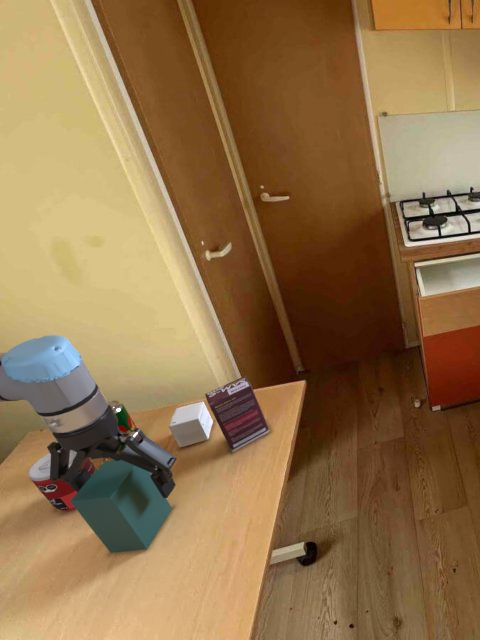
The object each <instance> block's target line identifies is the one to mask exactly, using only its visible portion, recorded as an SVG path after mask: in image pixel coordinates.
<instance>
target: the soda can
mask: <svg viewBox="0 0 480 640" xmlns="http://www.w3.org/2000/svg"><path fill="white" fill-rule="evenodd" d="M108 405H110V406H111V408H112V410H113V411H114V413H115V414H116V416H117V418H118V429H119V430H120V431H121V432H123V433H124V434H126V433H131V432H132V431H133V430H134V429H135V428H138V427H137V425H136V423H135V421H134V420H133V418H132V417H131V416H130V414H129V412H128V410H127V408H126V407H125V405H124V403H122V402H120V401H119V400H109V401H108ZM124 448H125V446H124V445H123V444H122V445H121V447H120V449H119V450H118V451H117V452H121V451H122V450H123V449H124Z"/></svg>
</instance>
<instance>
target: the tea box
mask: <svg viewBox="0 0 480 640" xmlns="http://www.w3.org/2000/svg"><path fill="white" fill-rule="evenodd" d="M96 469H97V470H96V472H95V473H94V474H93V475H92V476H91V477H90V479H89V480H88V481H87V482H86V483H85V484H84V486H83V487H82V488H81V489H80V490H79V492H78V493H77V494H76V495H75V496H74V497H73V499H72V500H71V501H70V502H71V503H72V505H73V506H74V507H75V508H76V509H75V510H76V511H77V512H78V514H79V515H80V517H82V519H83V520H84V521H85V522H86V524H87V525H88V526H89V528H90V529H91V530H92V531H93V533H94V534H95V535H96V536H97V538H98V539H99V540H100V541H101V543H102V544H103V546H105V548H106V549H107V550H108V552H109V553H110V554H116V553H126V552H135V551H144V550H145V551H146V550H148V548H149V547H150V545H151V544H152V542H153V540H154V539H155V537H156V536H157V534H158V532H159V531H160V530H161V527H162V526H163V524H164V523H165V521H166V519H167V518H168V516H169V515H170V513H171V511H172V509H173V507H172V505H171V504H170V502H169V500H168V498H163V497H162V495H161V494H160V492H159V490H158V489H157V487H156V485H155V484H154V482H153V481H152V479H151V477H150V476H151V475H152V473H150V472H148V471H146V470H144V469H141V468H139V467H137V466H135V465H132V464H130V463H128V462H125V461H123V460H119V461H115V460H113V459H108V460H104V461H103V462H102V463H101V464H100V465H99V467H98V468H96Z"/></svg>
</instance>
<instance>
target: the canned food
mask: <svg viewBox="0 0 480 640" xmlns="http://www.w3.org/2000/svg"><path fill="white" fill-rule="evenodd" d="M76 454H77V452H75V451H73V450H70V457H69V468H70V466H71V464H72V463H73V462H72V461H73V460H74V458H75V456H76ZM50 464H51V454H50V452H49V453H46V454H45V455H44V456H42V457H40V458H39V459H38V460H37V461H36V462H35V463H34V464H32V465H31V467H30V468H29V470H28V473H27V475H28V477H29V479H30V480H31V482H32V483H33V484H34V486H35V487H36V488H37V489H38V490H39V492H40V493H41V494H42V495H43V496H44V497H45V499H46V500H47V501H48V502H49V503H50V504H51V506H52V507H53V508H54V509H55V510H57V511H59V512H64V513H65V512H70V511H74V510H76V508H75V507H74V506H73V505H72V503H71V502H70V501H71V500H72V499H73V497H74V496H75V495H76V494H77V493H78V492H77V491H75V490H73V488H72V487H71V486H70V484H69V483H66V482H63V481H62V479H58V480H57V481H51V480H50ZM83 466H84V467H83V468H82V469H81V470H80V471H79V473H80V472H81V471H82V470H87V471H88V472H89V473H90V475H91V476H92V475H93V474H94V473H95V472H96V470H97V469H98V468H97V467H96V466H95V464H94V463H93V462H92V459H91V458H87V460H86V462H85V463H84V465H83Z"/></svg>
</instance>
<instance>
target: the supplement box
mask: <svg viewBox="0 0 480 640" xmlns="http://www.w3.org/2000/svg"><path fill="white" fill-rule="evenodd" d="M204 395H205V399H206V401H207V403H208V406H209V408H210V410H211V412H212V414H213V417H214V418H215V421H216V422H217V424H218V427H219V428H220V429H219V430H220V431H221V433H222V434H223V437H224V439H225V442H226V444H227V445H228V446H229V449H230V450H231V452H232V453H234V452H236V451H238V450H240V449H242V448H243V447H245V446H247V445H249V444H251V443H252V442H254V441H256V440H258V439H260V438H262V437H264V436H265V435H266V434H269V433H270V428H269V425H268V423H267V420H266V418H265V415H264V413H263V410H262V407H261V406H260V404H259V401H258V399H257V396H256V394H255V391H254V388H253V387H252V383H251V382H250V381H249V380H248V378H247V376H246V375H244V376H241V377H239V378H237V379H235V380H233V381H231V382H228V383H226V384H224V385H222V386H220V387H218V388H215V389H213V390H210V391H209V392H207V393H204Z"/></svg>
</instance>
